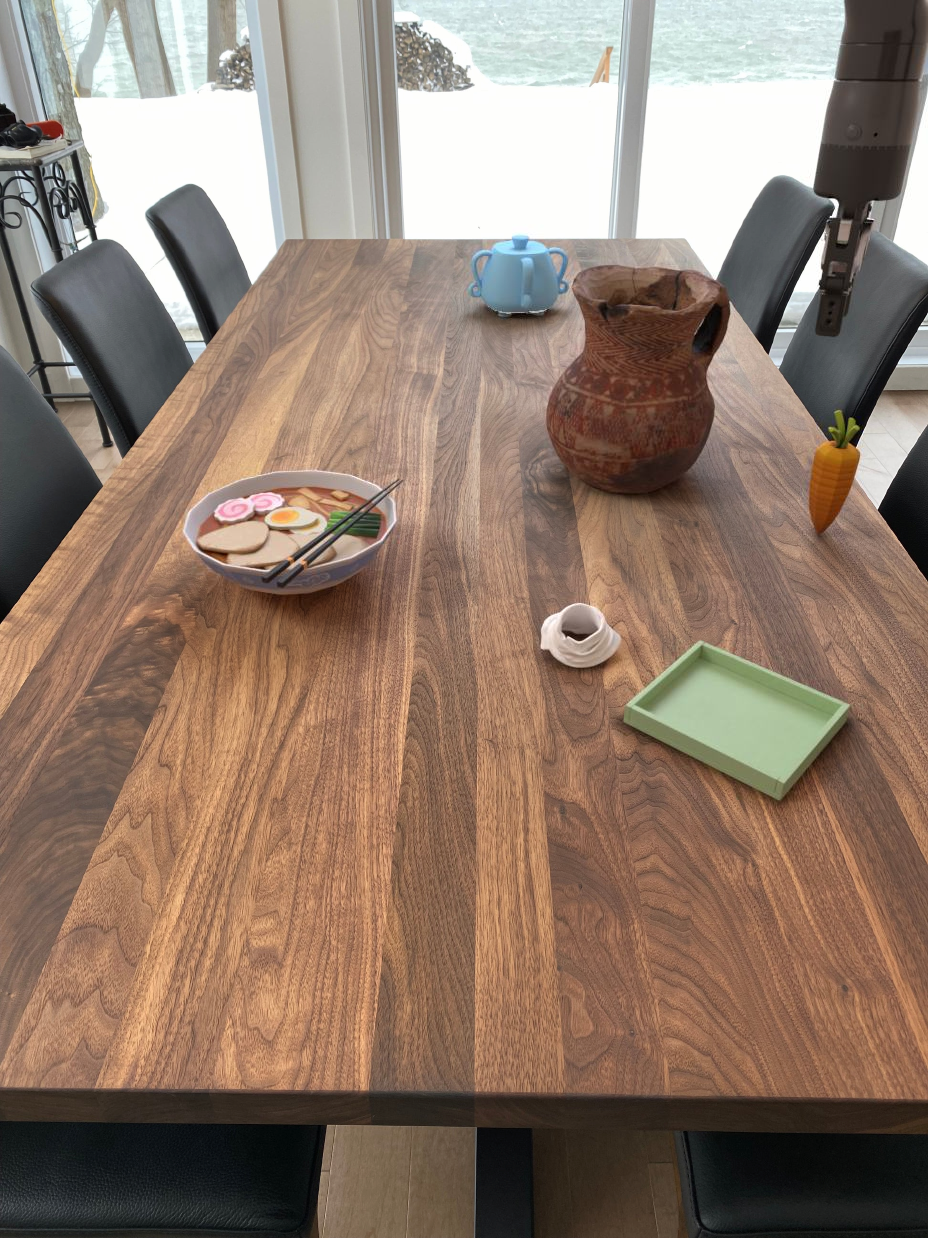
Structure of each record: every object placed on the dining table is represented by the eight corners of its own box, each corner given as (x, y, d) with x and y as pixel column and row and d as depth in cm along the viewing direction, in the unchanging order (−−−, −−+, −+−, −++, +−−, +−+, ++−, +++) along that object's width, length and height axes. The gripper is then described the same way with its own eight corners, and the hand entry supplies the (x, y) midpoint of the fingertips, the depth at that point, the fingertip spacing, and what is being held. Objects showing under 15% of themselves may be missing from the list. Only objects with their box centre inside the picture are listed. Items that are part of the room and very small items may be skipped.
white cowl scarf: (615, 639, 100) (623, 597, 98) (621, 674, 94) (629, 630, 92) (538, 631, 100) (543, 589, 98) (539, 666, 94) (545, 622, 92)
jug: (639, 526, 118) (663, 319, 104) (510, 472, 130) (516, 281, 116) (736, 468, 131) (769, 278, 117) (610, 425, 143) (626, 247, 129)
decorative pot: (577, 309, 190) (582, 235, 182) (522, 327, 180) (525, 251, 172) (514, 292, 199) (517, 222, 191) (459, 309, 189) (459, 235, 182)
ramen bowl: (281, 505, 122) (274, 445, 118) (441, 548, 114) (440, 484, 109) (141, 602, 104) (126, 535, 99) (318, 662, 95) (311, 592, 91)
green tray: (846, 722, 88) (850, 704, 87) (779, 801, 80) (784, 783, 79) (696, 656, 96) (699, 639, 95) (623, 722, 88) (625, 705, 87)
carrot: (844, 545, 114) (874, 425, 106) (800, 541, 115) (827, 422, 106) (837, 524, 118) (866, 407, 110) (795, 521, 119) (820, 404, 110)
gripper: (909, 146, 79) (867, 347, 87) (914, 134, 90) (877, 313, 98) (812, 143, 82) (781, 338, 90) (829, 131, 93) (800, 306, 101)
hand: (831, 325), depth 94 cm, fingers open, 8 cm apart
